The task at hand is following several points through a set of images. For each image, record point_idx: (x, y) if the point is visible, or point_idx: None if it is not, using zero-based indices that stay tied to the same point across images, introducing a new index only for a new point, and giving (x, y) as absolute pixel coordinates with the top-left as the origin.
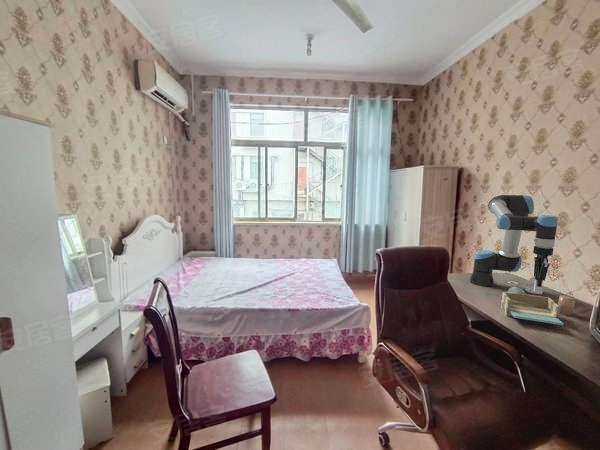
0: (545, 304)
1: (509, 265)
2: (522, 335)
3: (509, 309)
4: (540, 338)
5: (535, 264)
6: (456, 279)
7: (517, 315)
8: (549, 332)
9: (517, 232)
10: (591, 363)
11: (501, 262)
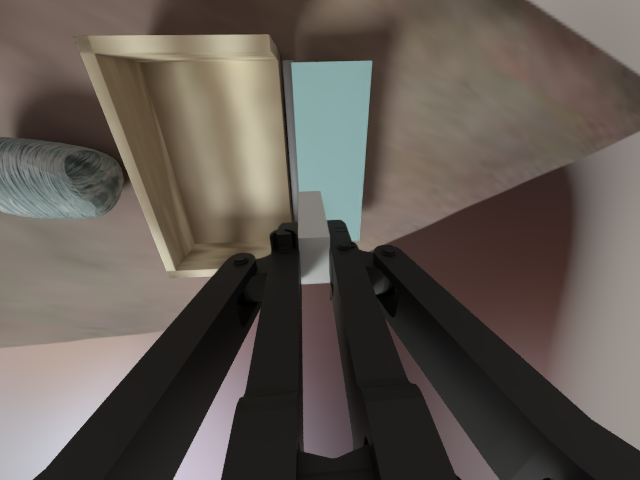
0: (130, 68)
1: None
2: (436, 220)
3: None
4: (446, 173)
5: (186, 445)
6: None
7: (350, 231)
8: (388, 126)
9: None
10: (604, 64)
11: None
